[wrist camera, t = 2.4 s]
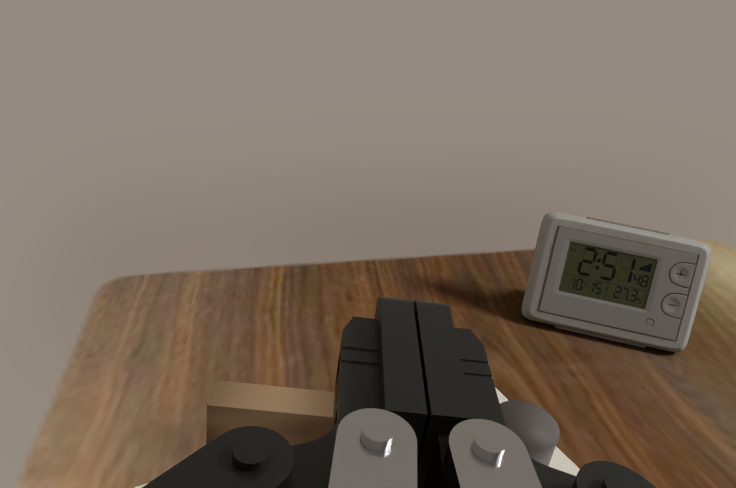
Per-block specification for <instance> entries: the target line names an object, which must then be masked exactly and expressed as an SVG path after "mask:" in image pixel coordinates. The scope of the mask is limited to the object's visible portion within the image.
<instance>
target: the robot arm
mask: <svg viewBox="0 0 736 488" xmlns="http://www.w3.org/2000/svg"><path fill="white" fill-rule="evenodd" d="M491 376H492V375H491V371H490V368H489V365H488V360H487V357H486V353H485V350H484V346H483V344H482V343H481V342H480V341H479V340H478V338H477V337H476V336H475V335H474V334H473V333H472V331H471V330H470V329H461V328H453V323H452V319H451V314H450V309H449V306H448V304H442V303H433V302H424V301H416V300H415V301H414V302H413V301H412V300H406V299H397V298H388V297H379V298H378V301H377V306H376V312H375V318H374V319H369V318H360V317H353V318H352V319H351V320H350V322H349V323H348V324H347V326H346V327H345V328H344V329H343V333H342V340H341V347H340V354H339V361H338V368H337V375H336V382H335V394H334V411H333V428H332V429H331V430H330V431H329V432H328V433H327V434H326V435H324V436H322V437H321V438H319V439H316V440H314V441H311V442H307V443H302V444H296V445H290V443H289V442H288V441H287V440H286V439H285V438H284V437H283V436H282V435H280V434H279V433H277V432H276V431H273V430H271V429H268V428H264V427H258V426H245V427H239V428H235V429H232V430H229V431H227V432H225V433H223V434H222V435H220V436H219V437H217V438H216V439H214V440H213V441H211V442H210V443H208V444H207V445H205V446H204V447H202V448H201V449H199V450H198V451H196V452H195V453H193V454H192V455H190V456H189V457H187V458H186V459H184V460H183V461H181V462H180V463H178V464H177V465H175V466H174V467H172V468H171V469H169V470H168V471H166V472H165V473H163V474H162V475H160V476H159V477H157V478H156V479H154V480H153V481H151V482H150V483H148V484H147V485H145V486H144V487H142V488H656V487H655V486H653V485H652V484H651V483H649V482H648V481H647V480H645V479H644V478H643V477H641V476H640V475H639V474H637V473H636V472H634V471H632V470H630V469H629V468H627V467H624V466H622V465H619V464H616V463H613V462H607V461H593V462H590V463H587V464H585V465H584V466H583V467H581V468H580V470H579V472H578V473H577V476H574V475H572V474H569V473H566V472H563V471H560V470H557V469H555V468H552V467H549V466H546V465H544V464H541V463H539V462H538V461H536V460H534V459H532V458H531V457H530V456H529V454H528V451H527V449H526V447H525V445H524V443H523V442H522V440H521V439H520V438H519V437H518V436H517V435H516V434H515V433H514V432H513V431H511V430H510V429H508V428H507V427H506V425H505V422H504V418H503V414H502V411H501V407H500V404H499V400H498V396H497V393H496V389H495V386H494V382H493V379H491Z"/></svg>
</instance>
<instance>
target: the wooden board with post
mask: <svg viewBox="0 0 736 488" xmlns="http://www.w3.org/2000/svg"><path fill="white" fill-rule="evenodd" d="M334 394H335V392H328V391H318V390H308V389H298V388H288V387H278V386H268V385H258V384H248V383H238V382H228V381H218V380H215V382H214V385H213V389H212V392H211V395H210V398H209V401H208V405H207V440H206V445H207V444H208V443H210V442H211V441H213V440H214V439H216V438H217V437H219V436H220V435H222V434H223V433H225V432H227V431H229V430H232V429H235V428H239V427H245V426H258V427H264V428H268V429H271V430H273V431H276V432H277V433H279V434H280V435H282V436H283V437H284V438H285V439H286V440H287V441H288V442H289V443H290V445H296V444H302V443H307V442H311V441H314V440H316V439H319V438H321V437H322V436H324V435H326V434H327V433H328V432H329V431H330V430H331V429H332V428H333V411H334ZM500 407H501V411H502V414H503V418H504V422H505V425H506V427H507V428H508V429H510V430H511V431H513V432H514V433H515V434H516V435H517V436H518V437H519V438H520V439H521V440H522V442H523V443H524V445H525V447H526V449H527V451H528V454H529V456H530V457H531V458H532V459H534V460H536V461H538V462H539V463H541V464H544V465H546V466H549V463H550V460H551V458H552V455H553V452H554V450H555V447H556V444H557V441H558V439H559V435H560V431H559V427H558V425H557V423H556V421H555V420H554V418H553V417H552V416H551V415H550V414H549V413H548V412H546V411H545V410H543V409H542V408H540V407H538V406H536V405H534V404H532V403H529V402H525V401H519V400H510V401H505V402H502V403H500Z"/></svg>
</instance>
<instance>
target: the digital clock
mask: <svg viewBox="0 0 736 488" xmlns="http://www.w3.org/2000/svg"><path fill="white" fill-rule="evenodd" d="M710 258H711V248H710V246H709V245H708V244H706V243H703V242H700V241H695V240H690V239H685V238H680V237H675V236H670V235H669V233H664V232H659V231H654V230H650V229H644V228H639V227H635V226H630V225H624V224H620V223H615V222H610V221H605V220H600V219H595V218H590V217H587V218H582V217H577V216H572V215H567V214H562V213H556V212H550V213H547V214H546V215H545V216H544V218H543V220H542V223H541V227H540V231H539V235H538V239H537V244H536V248H535V252H534V256H533V260H532V265H531V269H530V273H529V277H528V281H527V286H526V290H525V294H524V298H523V303H522V314H523V316H524V317H525V318H527V319H529V320H533V321H537V322H541V323H546V324H550V325H555V328H559V329H563V330H568V331H572V332H576V333H581V334H585V335H590V336H594V337H599V338H603V339H607V340H612V341H616V342H621V343H625V344H630V345H634V346H639V347H643V348H645V347H646V346H648V347H653V348H657V349H661V350H666V351H671V352H680V351H682V350H684V349H685V347H686V345H687V342H688V339H689V336H690V332H691V328H692V325H693V321H694V317H695V314H696V310H697V306H698V303H699V299H700V295H701V292H702V288H703V284H704V281H705V277H706V273H707V270H708V266H709V262H710Z"/></svg>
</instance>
